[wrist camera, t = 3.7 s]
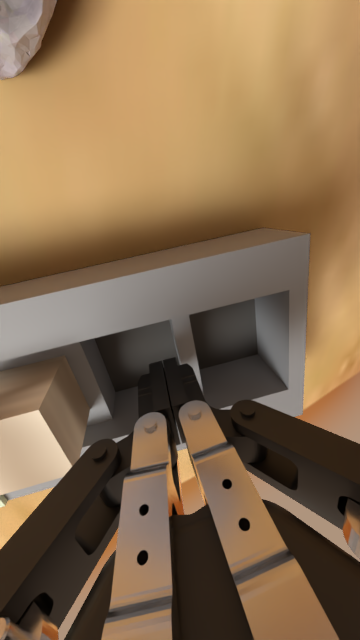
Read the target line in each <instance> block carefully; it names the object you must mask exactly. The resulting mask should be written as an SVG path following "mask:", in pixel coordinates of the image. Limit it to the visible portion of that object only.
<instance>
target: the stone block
mask: <svg viewBox="0 0 360 640" xmlns="http://www.w3.org/2000/svg"><path fill="white" fill-rule="evenodd" d="M56 2H57V0H0V80H3V79H5V78H12V77H15V76H17V75H18V74H20V73H21V72H22V71H23V70H24V68H25V67H26V65H27V63H28V62H29V61H30V60H31V59H32V58H33V56H34V55H35V54H36V52H37V51H38V50H39V49H40V47H41V41H42V39H43V37H44V34H45V32H46V30H47V27H48V24H49V22H50V20H51V18H52V15H53V12H54V8H55V5H56Z"/></svg>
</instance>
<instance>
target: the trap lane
mask: <svg viewBox="0 0 360 640" xmlns="http://www.w3.org/2000/svg"><path fill="white" fill-rule="evenodd" d="M309 253H310V233H302V232H294V231H286V230H278V229H270V228H259V229H255V230H251V231H246V232H242V233H237V234H233V235H228V236H224V237H219V238H215V239H210V240H206V241H202V242H197V243H193V244H188V245H184V246H179V247H175V248H170V249H166V250H161V251H157V252H152V253H148V254H144V255H139V256H135V257H130V258H126V259H121V260H117V261H112V262H108V263H103V264H99V265H95V266H90V267H86V268H81V269H77V270H72V271H68V272H63V273H59V274H54V275H50V276H46V277H41V278H37V279H32V280H28V281H23V282H19V283H14V284H10V285H5V286H1V287H0V371H4V370H8V369H12V368H16V367H20V366H24V365H28V364H32V363H36V362H40V361H44V360H48V359H52V358H56V357H60V356H64V355H65V357H66V359H67V361H68V364H69V366H70V368H71V370H72V372H73V374H74V376H75V378H76V380H77V383H78V385H79V387H80V389H81V391H82V393H83V395H84V397H85V400H86V402H87V404H88V406H89V408H90V413H89V417H88V422H87V427H86V431H85V436H84V440H83V445H82V449H81V454H80V457H81V456H82V455H83V454H84V452H85V451H86V450H87V449H88V448H89V447H90V446H91V445H92V444H93V443H95V442H97V441H99V440H101V439H112V440H114V441H115V442H116V443H117V442H119V441H120V440H122V439H124V438H125V437H127V436H128V435H130V434H131V433H132V432H133V431H134V426H135V424H136V422H137V421H138V419H139V414H138V381H139V379H140V377H141V375H145V374H149V373H150V372H149V364H150V363H154V362H158V361H162V363H163V360H165V359H169V358H173V357H176V361H177V364H178V365H182V364H186V363H187V364H189V365H190V366H191V367H192V368H193V370H194V372H195V375H196V378H197V381H198V383H199V385H200V388H201V391H202V393H203V396H204V398H205V401H206V402H207V404H208V405H210V406H211V407H213V408H216V409H222V410H229V409H231V408H232V406H233V405H234V404H235V403H236V402H238V401H241V400H253V401H256V402H258V403H261V404H263V405H266V406H268V407H271V408H273V409H275V410H278V411H280V412H283V413H285V414H288V415H290V416H293V417H295V416H299V415H302V414H303V394H304V371H305V347H306V323H307V300H308V276H309ZM163 367H164V364H163ZM164 371H165V369H164ZM176 424H177V423H176ZM177 428H178V427H177ZM178 433H179V430H178ZM179 438H180V434H179ZM180 443H181V444H180V445H176V448H177V451H179V450H182V449H186V448H187V446H186V443H183V444H182V441H181V438H180ZM62 478H63V477H62ZM62 478H58V479H55V480H51V481H48V482H44V483H41V484H37V485H34V486H30V487H27V488H24V489H20V490H17V491H13V492H10V493H6V494H3V495H0V507H3V506H6V503H7V501H8V500H11V499H14V498H18V497H21V496H25V495H28V494H32V493H35V492H38V491H42V490H45V489H49V488H52V487H55V486H56V485H57V484H58V482H59V481H60V480H61V479H62Z"/></svg>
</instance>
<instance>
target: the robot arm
mask: <svg viewBox="0 0 360 640" xmlns="http://www.w3.org/2000/svg"><path fill="white" fill-rule="evenodd" d="M163 364H164V367H163ZM164 369H165V371H164ZM149 372H150V373H149V374H145V375H141V377H140V379H139V381H138V414H139V419H138V421H137V422H136V424H135V426H134V431H133V432H132V433H131V434H130V435H128V436H127V437H125V438H124V439H122V440H120V441H119V442H117V443H116V442H115V441H114V440H112V439H101V440H99V441H97V442H95V443H93V444H92V445H91V446H90V447H89V448H88V449H87V450H86V451H85V452H84V454H83V455H82V456H81V457H80V458H79V459H78V460H77V462H76V463H75V464H74V465H73V466H72V467H71V469H70V470H69V471H68V472H67V473H66V474H65V476H64V477H63V478H62V479H61V480H60V481H59V482H58V484H57V485H56V486H55V487H54V488H53V489H52V491H51V492H50V493H49V494H48V495H47V496H46V498H45V499H44V500H43V501H42V502H41V503H40V504H39V506H38V507H37V508H36V509H35V510H34V511H33V513H32V514H31V515H30V516H29V517H28V518H27V520H26V521H25V522H24V523H23V524H22V525H21V526H20V528H19V529H18V530H17V531H16V532H15V533H14V535H13V536H12V537H11V538H10V539H9V540H8V542H7V543H6V544H5V545H4V546H3V547H2V549H1V550H0V640H58V639H59V638H58V629H59V627H60V626H61V624H62V622H63V621H64V619H65V617H66V615H67V614H68V612H69V610H70V609H71V607H72V605H73V604H74V602H75V600H76V598H77V597H78V595H79V593H80V591H81V590H82V588H83V586H84V585H85V583H86V581H87V580H88V578H89V576H90V575H91V573H92V571H93V569H94V568H95V566H96V564H97V562H98V561H99V559H100V558H101V556H102V554H103V552H104V551H105V549H106V547H107V546H108V544H109V542H110V541H111V539H112V537H113V535H114V534H115V532H116V530H117V529H118V527H119V529H118V538H117V548H116V550H115V551H114V553H113V554H112V555H111V556H110V558H109V559H108V561H107V562H106V564H105V565H104V567H103V568H102V570H101V572H100V574H99V576H98V578H97V580H96V581H95V583H94V585H93V587H92V589H91V591H90V593H89V594H88V596H87V598H86V600H85V602H84V604H83V606H82V607H81V610H80V611H79V613H78V615H77V617H76V619H75V620H74V623H73V624H72V626H71V628H70V630H69V632H68V634H67V635H66V637H65V639H64V640H360V562H359V561H357V560H356V559H355V558H353V557H352V556H351V555H349V554H348V553H346V552H345V551H344V550H342V549H341V548H339V547H338V546H337V545H335V544H334V543H332V542H331V541H329V540H328V539H327V538H325V537H324V536H322V535H321V534H319V533H318V532H317V531H315V530H314V529H313V528H311V527H310V526H308V525H307V524H306V523H304V522H303V521H301V520H300V519H298V518H297V517H296V516H294V515H293V514H291V513H290V512H289V511H287V510H286V509H284V508H282V507H280V506H279V505H277V504H275V503H272V502H270V501H267V500H263V499H261V498H260V496H259V494H258V492H257V490H256V488H255V486H254V484H253V482H252V480H251V478H250V477H249V475H248V473H247V471H249V472H251V473H252V474H254V475H255V476H257V477H258V478H260V479H262V480H263V481H265V482H266V483H268V484H270V485H271V486H273V487H275V488H276V489H278V490H279V491H281V492H282V493H284V494H286V495H287V496H289V497H290V498H292V499H294V500H295V501H297V502H298V503H300V504H302V505H303V506H305V507H306V508H308V509H310V510H311V511H313V512H315V513H316V514H318V515H319V516H321V517H322V518H324V519H326V520H327V521H329V522H330V523H332V524H334V525H335V526H337V527H338V528H340V529H342V530H343V535H344V538H345V540H346V542H347V544H348V546H349V547H350V548H351V550H352V551H353V553H354V554H355V555H356V556H357V557H358V558H359V559H360V444H358V443H356V442H353V441H351V440H348V439H346V438H344V437H341V436H338V435H336V434H334V433H332V432H329V431H327V430H324V429H322V428H319V427H317V426H314V425H312V424H310V423H307V422H305V421H302V420H300V419H297V418H295V417H293V416H290V415H288V414H285V413H283V412H280V411H278V410H275V409H273V408H271V407H268V406H266V405H263V404H261V403H258V402H256V401H253V400H241V401H238V402H236V403H235V404H234V405H233V406H232V408H231V409H229V410H222V409H216V408H213V407H211V406H210V405H208V404H207V402H206V401H205V398H204V396H203V393H202V391H201V388H200V385H199V383H198V381H197V378H196V375H195V372H194V370H193V368H192V367H191V366H190V365H189V364H187V363H186V364H182V365H178V364H177V361H176V357H173V358H169V359H165V360H163V363H162V361H158V362H154V363H150V364H149ZM176 423H177V424H176ZM177 427H178V428H177ZM178 430H179V433H178ZM179 434H180V438H181V441H182V444H183V443H186V446H187V449H188V453H189V457H190V461H191V464H192V467H193V470H194V473H195V476H196V479H197V482H198V486H199V489H200V492H201V495H202V498H203V501H204V505H205V506H204V507H202V508H201V509H199V510H198V511H196V512H195V513H193V514H190V515H184V509H183V501H182V492H181V481H180V471H179V462H178V453H177V448H176V445H180V444H181V443H180V438H179ZM246 470H247V471H246Z"/></svg>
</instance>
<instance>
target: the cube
mask: <svg viewBox="0 0 360 640" xmlns="http://www.w3.org/2000/svg"><path fill="white" fill-rule="evenodd" d="M89 413H90V408H89V406H88V404H87V402H86V400H85V397H84V395H83V393H82V391H81V389H80V387H79V385H78V383H77V380H76V378H75V376H74V374H73V372H72V370H71V368H70V366H69V364H68V361H67V359H66V357H65V355H64V356H60V357H56V358H52V359H48V360H44V361H40V362H36V363H32V364H28V365H24V366H20V367H16V368H12V369H8V370H4V371H0V495H3V494H6V493H10V492H13V491H17V490H20V489H24V488H27V487H30V486H34V485H37V484H41V483H44V482H48V481H51V480H55V479H58V478H62V477H64V476H65V474H66V473H67V472H68V471H69V470H70V469H71V467H72V466H73V465H74V464H75V463H76V462H77V460H78V459H79V458H80V454H81V449H82V445H83V440H84V436H85V431H86V427H87V422H88V417H89Z"/></svg>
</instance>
